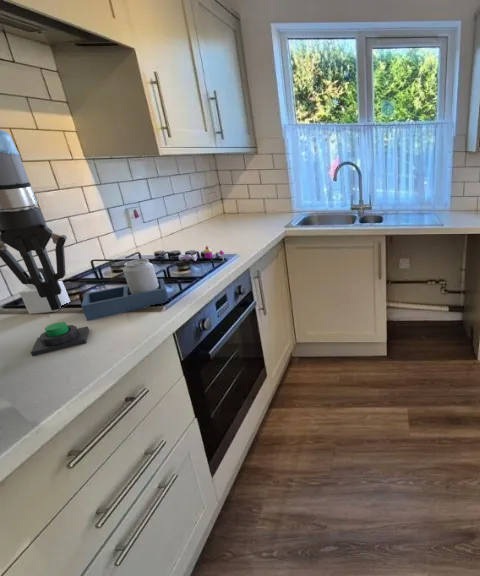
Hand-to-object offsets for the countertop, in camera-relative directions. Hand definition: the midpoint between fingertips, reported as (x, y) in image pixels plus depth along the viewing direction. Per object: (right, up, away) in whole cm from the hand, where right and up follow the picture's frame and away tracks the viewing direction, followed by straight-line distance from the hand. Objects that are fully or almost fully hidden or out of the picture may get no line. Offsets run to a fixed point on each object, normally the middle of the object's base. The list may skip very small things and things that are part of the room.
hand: (56, 307), depth 86 cm
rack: (+2, 0, +22) cm, 22 cm away
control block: (-1, -9, +3) cm, 9 cm away
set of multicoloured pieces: (+6, +17, +63) cm, 65 cm away
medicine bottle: (-21, -1, +22) cm, 30 cm away
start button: (-1, -6, +2) cm, 7 cm away
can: (+6, +1, +24) cm, 25 cm away
